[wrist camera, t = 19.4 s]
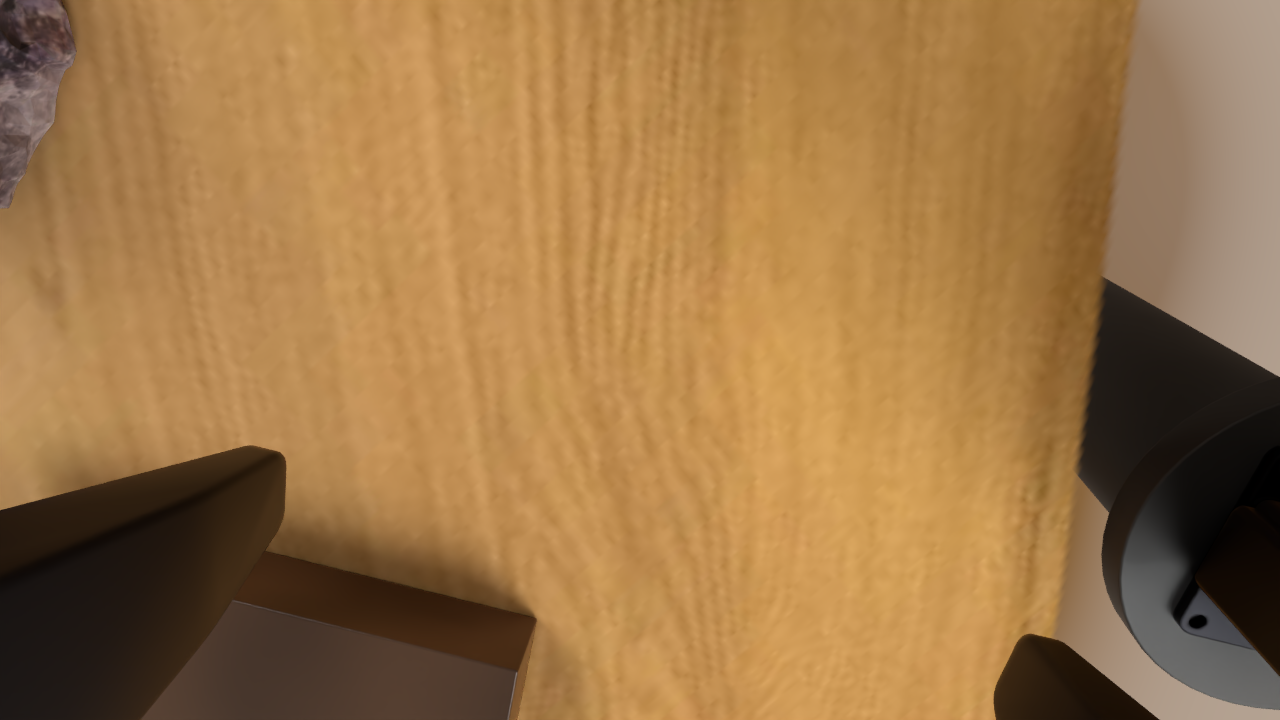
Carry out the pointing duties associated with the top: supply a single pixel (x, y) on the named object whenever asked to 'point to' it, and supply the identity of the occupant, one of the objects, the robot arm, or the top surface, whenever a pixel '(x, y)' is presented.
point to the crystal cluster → (29, 80)
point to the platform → (350, 653)
